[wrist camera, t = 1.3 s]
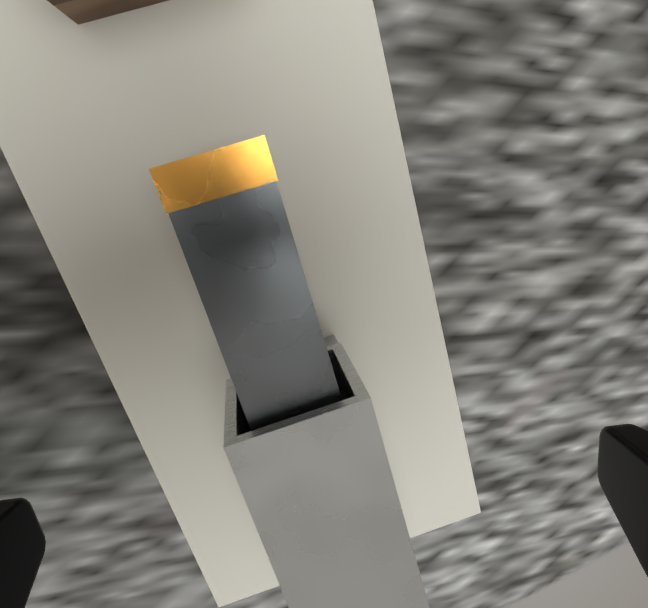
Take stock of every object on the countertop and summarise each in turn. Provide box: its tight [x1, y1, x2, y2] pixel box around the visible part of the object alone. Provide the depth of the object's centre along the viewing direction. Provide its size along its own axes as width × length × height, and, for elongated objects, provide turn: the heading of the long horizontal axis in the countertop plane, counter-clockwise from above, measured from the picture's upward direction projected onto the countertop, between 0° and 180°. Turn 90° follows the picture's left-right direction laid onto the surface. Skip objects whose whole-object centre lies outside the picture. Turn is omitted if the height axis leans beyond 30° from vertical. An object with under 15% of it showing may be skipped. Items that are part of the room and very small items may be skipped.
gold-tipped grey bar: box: [149, 135, 342, 431], centre depth 17 cm, size 3×17×3 cm, turn 16°
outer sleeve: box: [223, 335, 429, 608], centre depth 20 cm, size 5×11×7 cm, turn 16°
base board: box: [0, 0, 481, 607], centre depth 20 cm, size 14×32×1 cm, turn 16°
